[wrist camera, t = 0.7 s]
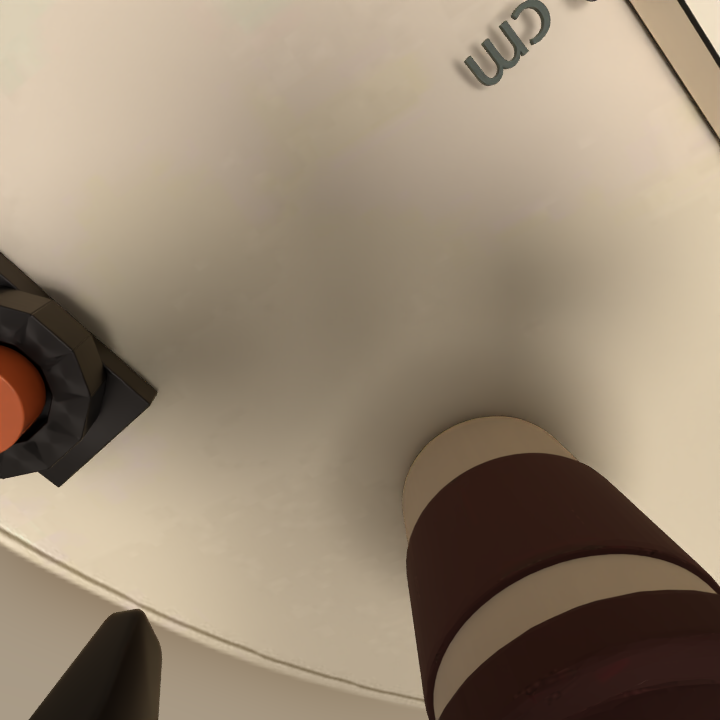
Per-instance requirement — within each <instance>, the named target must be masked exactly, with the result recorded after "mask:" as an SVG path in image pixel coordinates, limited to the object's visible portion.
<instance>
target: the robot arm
mask: <svg viewBox="0 0 720 720" xmlns="http://www.w3.org/2000/svg"><path fill="white" fill-rule="evenodd" d="M161 668H162V652H161V646H160V643H159V641H158V639H157V637H156V635H155V633H154V631H153V629H152V627H151V625H150V623H149V621H148V619H147V617H146V615H145V613H144V612H143V611H142V610H140V609H133V610H127V611H122V612H116V613H113V614H112V615H110V616H109V617H108V618H107V619H106V620H105V621H104V623H103V624H102V625H101V626H100V628H99V629H98V631H97V632H96V633H95V634H94V636H93V637H92V638H91V640H90V641H89V642H88V643H87V645H86V646H85V647H84V649H83V650H82V651H81V652H80V654H79V655H78V656H77V658H76V659H75V660H74V662H73V663H72V664H71V666H70V667H69V668H68V670H67V671H66V672H65V673H64V675H63V676H62V677H61V679H60V680H59V681H58V683H57V684H56V685H55V686H54V688H53V689H52V690H51V692H50V693H49V694H48V696H47V697H46V698H45V699H44V701H43V702H42V703H41V705H40V706H39V707H38V709H37V710H36V711H35V713H34V714H33V715H32V716H31V718H30V719H29V720H158V713H159V697H160V682H161Z"/></svg>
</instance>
